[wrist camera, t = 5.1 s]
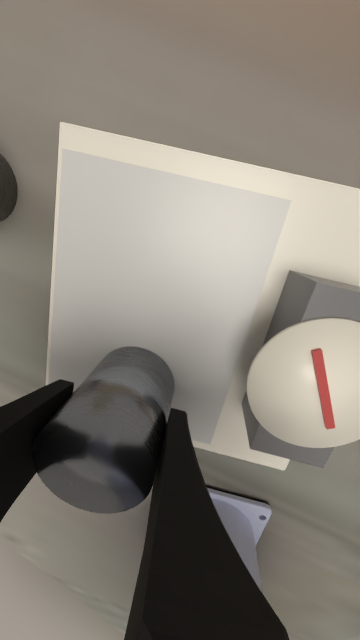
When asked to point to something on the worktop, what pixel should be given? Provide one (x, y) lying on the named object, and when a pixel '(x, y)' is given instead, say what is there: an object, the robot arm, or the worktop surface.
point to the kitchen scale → (212, 290)
